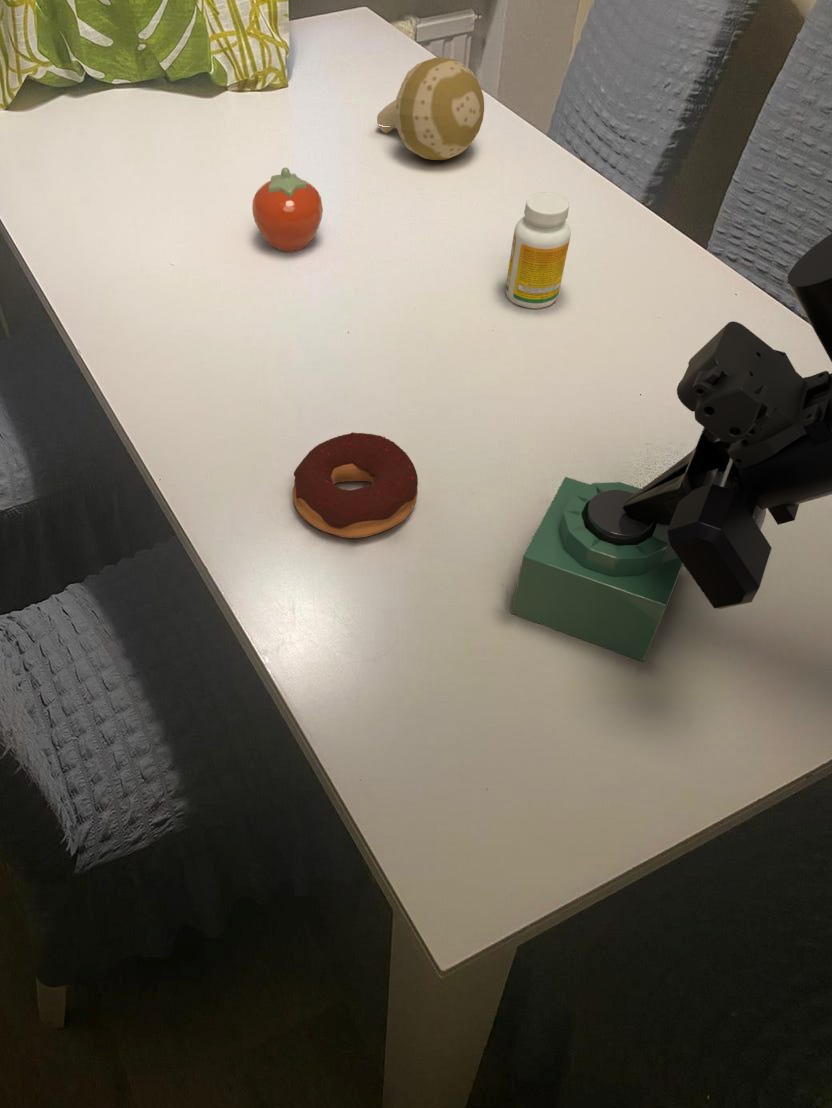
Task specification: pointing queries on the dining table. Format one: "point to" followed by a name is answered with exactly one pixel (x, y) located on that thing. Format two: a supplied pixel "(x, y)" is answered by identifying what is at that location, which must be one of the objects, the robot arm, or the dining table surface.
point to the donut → (361, 506)
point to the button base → (595, 576)
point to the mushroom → (436, 109)
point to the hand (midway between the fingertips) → (627, 509)
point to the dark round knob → (614, 519)
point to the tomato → (287, 211)
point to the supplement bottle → (539, 251)
